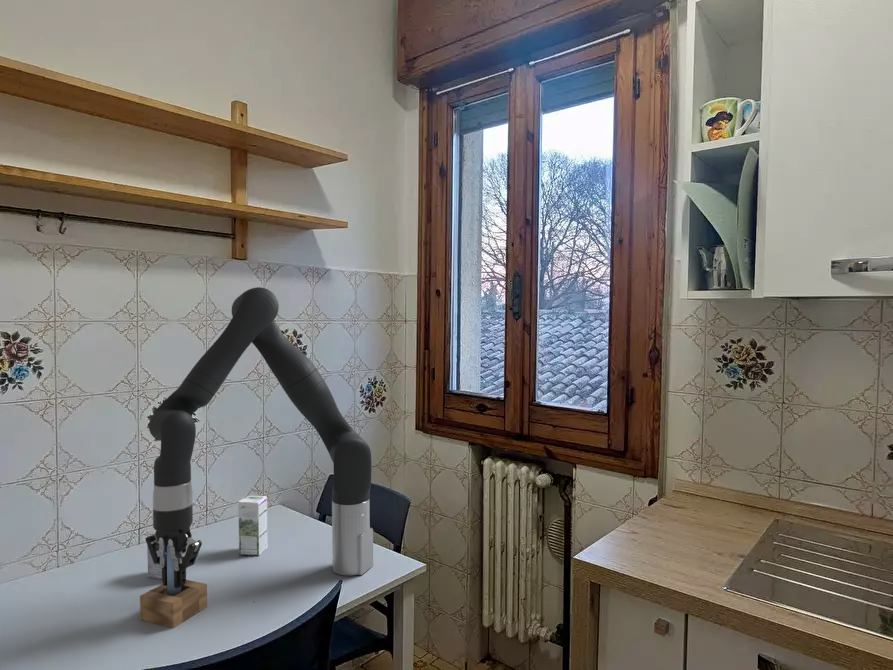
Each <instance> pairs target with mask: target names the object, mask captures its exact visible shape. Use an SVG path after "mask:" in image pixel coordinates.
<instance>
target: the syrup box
mask: <svg viewBox="0 0 893 670" xmlns="http://www.w3.org/2000/svg"><path fill="white" fill-rule="evenodd" d="M237 505H238V553H239V556H254V555H258V556H261V555H262V554H263V553H264V552H265V551H266V550H267V549H268V547H269V545H268V497H267V495H246V496H244V497H242V498H241V499H240V500H239V501H238V503H237ZM265 549H266V550H265ZM264 550H265V551H264ZM263 551H264V552H263ZM262 552H263V553H262ZM261 553H262V554H261ZM260 554H261V555H260Z"/></svg>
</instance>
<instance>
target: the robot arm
mask: <svg viewBox="0 0 893 670" xmlns="http://www.w3.org/2000/svg"><path fill="white" fill-rule="evenodd" d="M279 306H280V305H279V301H278V298H277V296H276V295H275V294H274V292H273V291H271V290H270V289H268V288H266V287H259V286H258V287H252V288H248V289H247V290H245V291H244V292H242V293H241V294H239V296H238V297H236V299H234V300H233V303H232V305H231V316H232V317H231V319H230V321H229V323H228V324H227V326H226V328H224V330H223V331H222V333H221V334H220V335H219V337H218V338H217V339H216V340H215V341H214V342H213V344H212V345H210V346H209V348H208V349H207V350H206V351H205V352H204V354H203V355H202V356H201V357H200V358H199V360H198V361H197V362H196V363H195V364H194V366H193V367H192V368H191V370H190V371H189V372H188V374H187V375H186V377H185V378H184V379H183V381H182V382H181V384H180V385H179V387H178V388H177V389H176V390H174V391H173V392H172V393H171V394H170V395H169V396H168V397H167V398H166V399H165V400H164V401H163V402H162V403H160V405H159V406H158V407H157V408H156V409H155V411H154V412H153V413H152V415H151V417H150V418H149V423H148V431H149V433H150V434H151V435H150V436H152V437H153V438H154V439H156V440H158V441H160V453H159V455H158V456H157V457H156V458H155V460H154V463H153V491H152V527H153V529H154V530H155V533H153V534H152V535H148V536H147V537H145V543H146V546H148V548H149V551H150V554H151V557H152V560H153V562H154V564H157V563H158V564H159V565H160V568H162V579H161V580H162V584H163V585H165V586H167V545H168V544H169V547H170V553H171V559H172V560H173V561H174V569H175V571H174V587H175V588H180V587H182V586H183V585H184V584H185V583H186V580H187V574H186V569H188V568H189V567H191V566H194V564H195V563H196V560H197V557H198V555H199V554H200V553H199V552H200V550H201V547H202V545H203V542H202V540H200V539H199V540H195V539H194V538H192V537H193V535H192V531H191V529H190V528H191V525H193V522H194V517H193V515H194V514H193V513H194V512H193V511H194V510H193V509H194V508H193V507H194V506H193V505H194V503H193V486H192V465H191V464H192V463H191V459H192V456H193V453H194V448H195V443H196V442H195V441H196V435H197V432H196V431H197V430H196V429H197V427H196V424H195V423H196V422H195V419H194V418H193V415H194V414H195V412H197V410H199V409H201V408H203V407H206V406H207V405H208V404H209V403H210V402H211V401H212V399H213V398H214V397H215V395H216V394H217V393H218V391H219V389H220V388H221V387H222V385H223V383H224V382H225V381H226V379H227V378H228V376H229V375H230V374H231V371H232V370H233V368H234V367H235V366H236V363H238V361H239V359H240V358H241V357H242V355H243V354H244V353H245V351H246V350H247V348H249V346H250V344H253V346H254V347H255V348H256V349H257V351H258V352H259V353H260V354H261V357H262V358H263V360H264V361H265V363H266V364H267V366H268V368H269V369H270V371H271V373H272V374H273V375H274V377H275V379H276V380H277V381H278V383H279V384H280V386H281V388H282V390H283V391H284V393H285V394H286V395H287V397H288V399H289V400H290V401H291V403H292V404H293V405H294V406H295V407H296V409H297V410H298V411H299V413H301V415H302V416H303V417H304V418H305V419H306V421H308V422H309V423H310V424H311V426H312V427H313V428H314V429H315V431H316V432H317V434H318V435H319V437H320V439H321V440H322V442H323V445H324V447H325V448H326V451H327V452H328V455H329V456H330V457H329V458H330V459H331V462H332V463H333V484H332V485H333V487H332V490H331V524H332V525H331V530H332V531H331V534H332V535H331V538H332V539H331V541H332V542H331V544H332V548H331V549H332V552H331V553H332V571H333V573H335V574H337V575H341V576H347V577H348V576H357V575H358V576H362V575H364V574H365V573H366V572H367V571H368V570H370V569H371V568H372V567H373V566H374V529H373V527H371V526H370V524H371V523H370V515H371V514H370V513H371V512H370V493H371V492H370V491H371V488H372V452H371V448H370V446H369V444H368V443H367V441H365V440H364V439H363V437H361V436H360V435H359V434H358V433H357V432H356V431H355V430H354V428H352V426H351V425H350V423H348V421H347V419H345V417H344V416H343V415H342V413H341V412H340V410H339V407H338V405H337V403H336V401H335V398H334V396H333V393H332V392H331V390H330V388H329V386H328V385H327V383H326V380H325V379H324V378H323V376H322V375H321V373H320V372H319V370H318V369H317V367H316V366H315V364H314V363H313V362H312V361H311V359H309V357H307V356H306V355H305V353H304V352H303V351H301V349H299V348H298V347H296V346H295V345H294V344H293V343H292V342H290V340H289V339H288V338H287V337H286V336H285V334H284V333H283V331H282V329H281V328H280V326H279V325H278V323H277V322H276V320H275V319H276V318H277V315H278V313H279V308H280V307H279ZM156 551H159V557H158V555H157V553H156ZM179 552H181V553H179ZM177 553H179V554H177ZM180 558H181V562H182V563H180Z"/></svg>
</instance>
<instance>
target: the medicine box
mask: <svg viewBox="0 0 893 670" xmlns="http://www.w3.org/2000/svg"><path fill="white" fill-rule="evenodd" d="M146 546H147V545H146ZM146 550H147V577H148V578H152V579H159V580H162V568H160V565H159V564H158V563H157V564H154V562H153V560H152V557H151V554H150V551H149V548H148V546H147V549H146ZM156 553H157V555H158V557H159V551H156ZM181 563H182V562H181ZM187 569H188V568H186V575H187Z"/></svg>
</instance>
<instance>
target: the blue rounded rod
mask: <svg viewBox="0 0 893 670" xmlns="http://www.w3.org/2000/svg"><path fill="white" fill-rule="evenodd" d="M179 553H181V552H179ZM179 553H177V554H179ZM180 563H181V558H180ZM174 571H175V569H174V561H173V560H172V559H171V553H170V547H169V544H168V545H167V595H170V596H175V595H177V594H179V593H181V587H180V588H175V587H174Z"/></svg>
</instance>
